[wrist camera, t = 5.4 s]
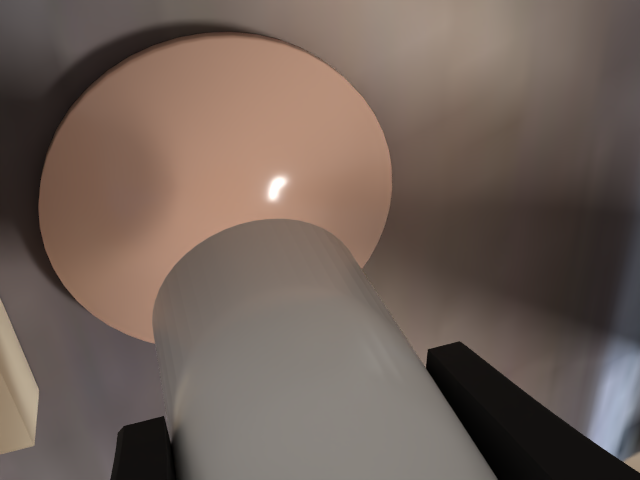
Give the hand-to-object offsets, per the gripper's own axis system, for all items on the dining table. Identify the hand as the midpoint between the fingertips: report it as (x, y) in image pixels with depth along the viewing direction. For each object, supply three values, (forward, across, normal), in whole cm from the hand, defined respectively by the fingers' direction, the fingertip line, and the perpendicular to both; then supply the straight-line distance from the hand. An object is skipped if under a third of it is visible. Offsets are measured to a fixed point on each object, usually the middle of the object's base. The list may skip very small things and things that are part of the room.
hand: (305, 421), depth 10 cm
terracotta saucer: (+8, 0, 0) cm, 8 cm away
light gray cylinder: (+3, 0, 0) cm, 3 cm away
